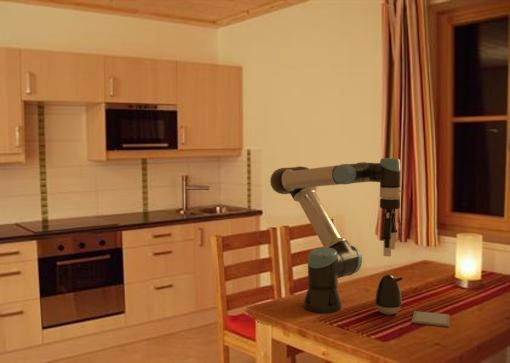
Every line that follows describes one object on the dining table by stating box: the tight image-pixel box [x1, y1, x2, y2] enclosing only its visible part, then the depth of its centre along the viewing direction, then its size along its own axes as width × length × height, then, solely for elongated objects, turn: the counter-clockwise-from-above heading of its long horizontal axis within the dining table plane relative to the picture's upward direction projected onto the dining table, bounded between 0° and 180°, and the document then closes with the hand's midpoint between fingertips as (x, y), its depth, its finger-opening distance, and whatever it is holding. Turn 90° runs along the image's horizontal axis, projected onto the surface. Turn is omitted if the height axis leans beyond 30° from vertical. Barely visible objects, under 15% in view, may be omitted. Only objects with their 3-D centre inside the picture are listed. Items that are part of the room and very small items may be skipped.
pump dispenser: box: [374, 274, 403, 316], centre depth 213 cm, size 10×10×15 cm
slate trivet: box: [411, 310, 450, 328], centre depth 205 cm, size 13×13×1 cm
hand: (389, 252), depth 212 cm, fingers open, 13 cm apart
